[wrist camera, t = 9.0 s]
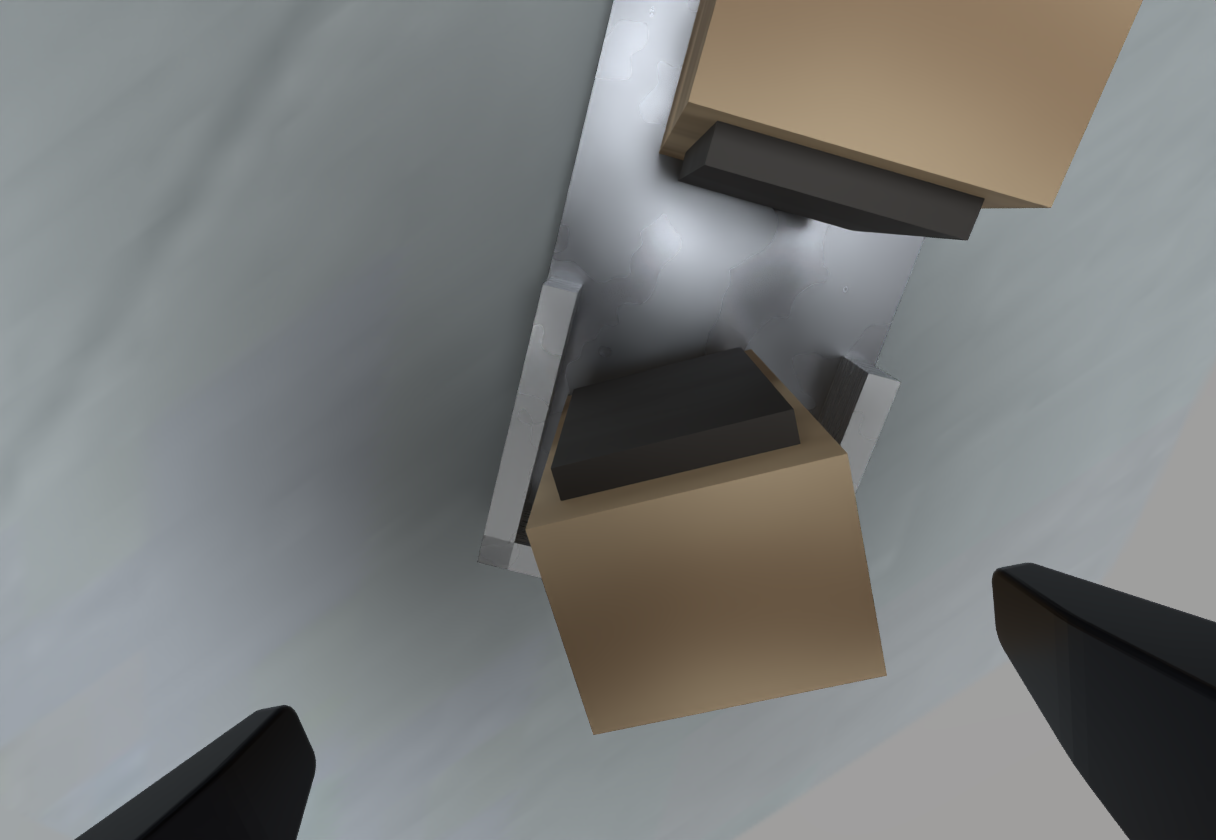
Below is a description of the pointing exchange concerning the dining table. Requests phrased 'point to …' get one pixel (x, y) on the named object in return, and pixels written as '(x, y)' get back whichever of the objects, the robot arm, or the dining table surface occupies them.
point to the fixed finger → (891, 105)
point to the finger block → (701, 544)
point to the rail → (688, 280)
